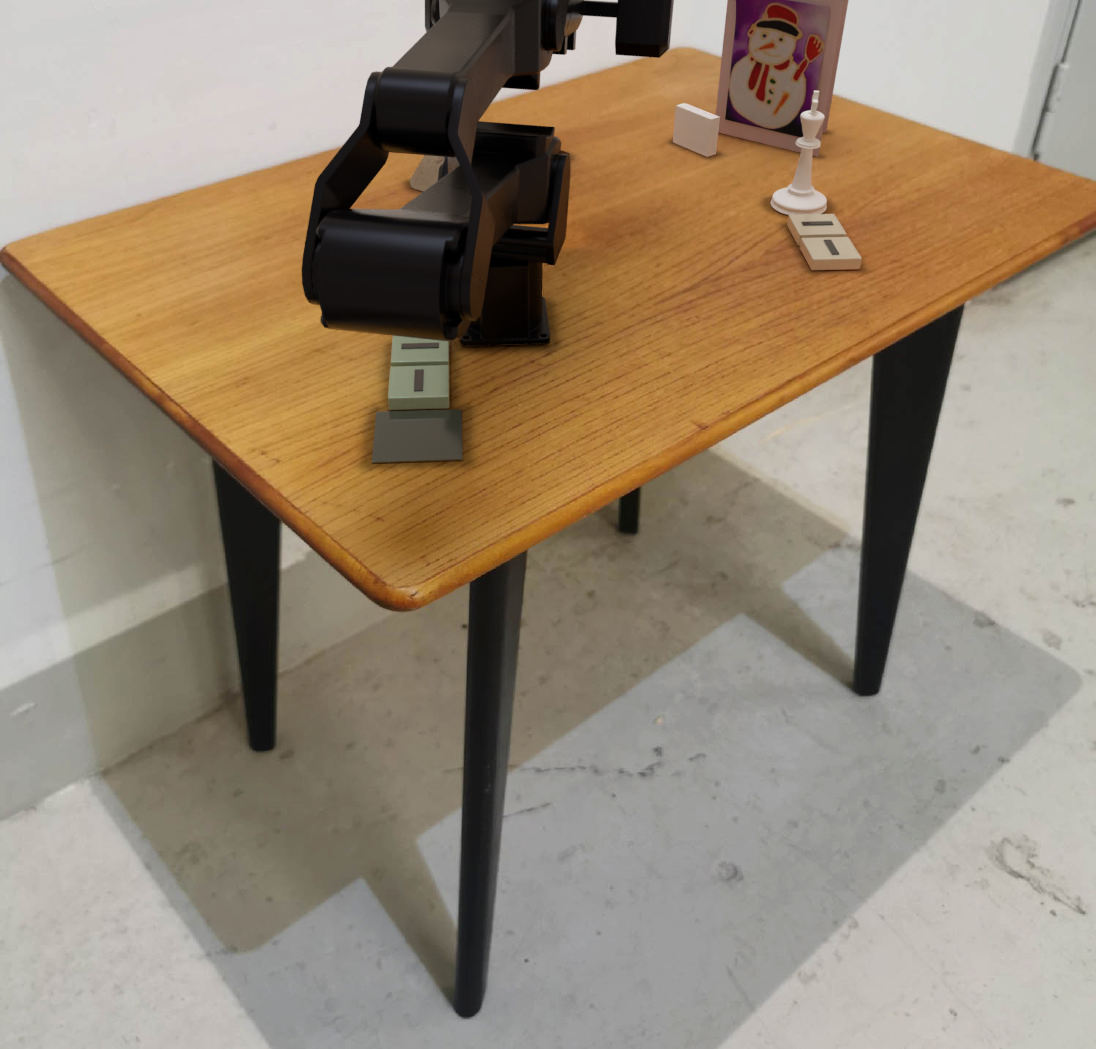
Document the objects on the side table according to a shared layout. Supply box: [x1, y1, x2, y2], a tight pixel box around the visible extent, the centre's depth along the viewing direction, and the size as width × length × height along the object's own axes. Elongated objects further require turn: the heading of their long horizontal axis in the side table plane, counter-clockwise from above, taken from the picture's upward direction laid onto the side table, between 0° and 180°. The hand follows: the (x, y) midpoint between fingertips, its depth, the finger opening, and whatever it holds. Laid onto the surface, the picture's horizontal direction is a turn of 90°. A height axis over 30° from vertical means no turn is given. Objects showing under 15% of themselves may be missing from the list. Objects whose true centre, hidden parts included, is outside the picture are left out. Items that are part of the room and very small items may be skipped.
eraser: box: [672, 102, 720, 158], centre depth 109 cm, size 1×5×4 cm, turn 39°
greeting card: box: [715, 0, 849, 158], centre depth 108 cm, size 11×7×15 cm, turn 55°
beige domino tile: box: [786, 213, 863, 271], centre depth 93 cm, size 8×4×1 cm, turn 4°
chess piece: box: [770, 90, 828, 216], centre depth 97 cm, size 5×5×10 cm
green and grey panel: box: [371, 336, 464, 464], centre depth 75 cm, size 14×6×1 cm, turn 4°
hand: (566, 0), depth 92 cm, fingers open, 9 cm apart
